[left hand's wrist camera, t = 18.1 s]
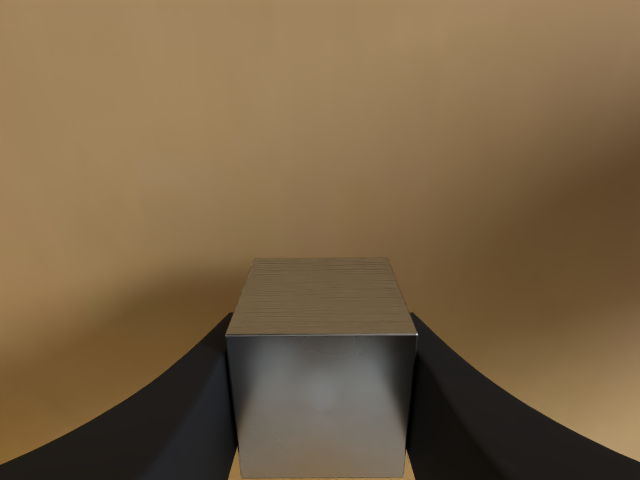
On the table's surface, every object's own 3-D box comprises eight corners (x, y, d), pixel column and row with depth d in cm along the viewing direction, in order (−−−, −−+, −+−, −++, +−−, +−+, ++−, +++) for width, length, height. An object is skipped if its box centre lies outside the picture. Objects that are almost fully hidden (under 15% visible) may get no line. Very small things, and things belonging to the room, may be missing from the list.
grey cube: (254, 257, 12) (224, 334, 8) (387, 257, 12) (418, 333, 8) (262, 371, 14) (240, 479, 10) (380, 370, 14) (403, 478, 10)
